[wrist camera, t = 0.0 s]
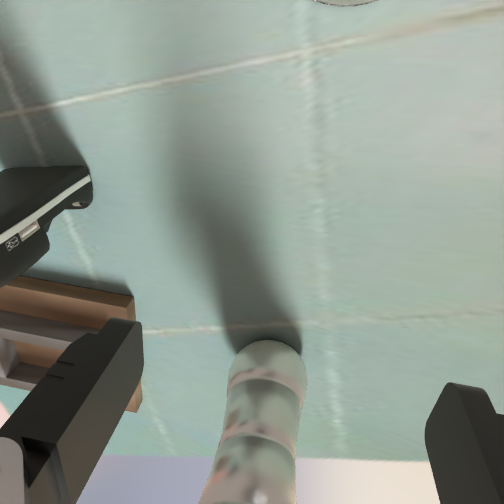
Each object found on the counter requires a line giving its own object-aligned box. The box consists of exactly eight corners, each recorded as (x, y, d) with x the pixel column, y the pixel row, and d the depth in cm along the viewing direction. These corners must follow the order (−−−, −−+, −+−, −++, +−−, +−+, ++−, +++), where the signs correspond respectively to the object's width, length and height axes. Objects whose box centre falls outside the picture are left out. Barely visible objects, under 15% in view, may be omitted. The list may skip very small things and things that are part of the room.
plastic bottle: (220, 345, 34) (119, 659, 18) (283, 318, 32) (236, 661, 15) (260, 390, 37) (205, 707, 20) (323, 368, 34) (321, 716, 17)
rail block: (-27, 267, 34) (-60, 290, 31) (133, 297, 33) (115, 324, 30) (10, 372, 42) (-14, 399, 39) (142, 400, 40) (128, 430, 37)
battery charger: (24, 213, 30) (-115, 303, 21) (5, 166, 28) (-159, 242, 19) (105, 212, 29) (-3, 308, 19) (91, 163, 27) (-38, 243, 18)
